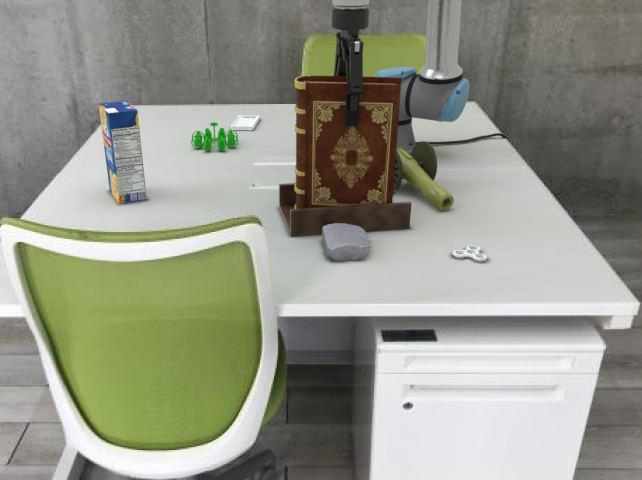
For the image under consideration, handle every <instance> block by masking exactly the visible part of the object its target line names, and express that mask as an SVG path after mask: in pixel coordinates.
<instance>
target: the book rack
mask: <svg viewBox="0 0 642 480" xmlns="http://www.w3.org/2000/svg"><path fill="white" fill-rule="evenodd" d="M295 183H296V182H289V183H279V184H278V208H279V211H280V213H281V216H282V218H283V221H284V223H285V226H286V228H287V230H288V233H289V236H290V237H306V236H322V228H323V227H324V226H326V225H328V224H334V223H339V224H340V223H345V224H350V225H356V226H359V227H361V228H362V229H364V231H365V232H366V233H367V232H381V231H383V232H384V231H385V232H386V231H397V230H399V231H400V230H410V228H411V226H410V225H411V217H412V216H411V215H412V206H413V205H412V204H413V203H412V202H411V201H402V202H392V203H382V204H365V205H349V206H332V207H316V208H299V209H294V207H295V204H296V192H295V190H294V186H295Z"/></svg>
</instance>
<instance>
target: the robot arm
mask: <svg viewBox="0 0 642 480" xmlns="http://www.w3.org/2000/svg"><path fill="white" fill-rule="evenodd" d="M426 1H427V2H426V26H425V27H426V28H425V50H424V51H425V52H424V53H425V54H424V65H423V66H422V67H421V68H420V69H419V70H417V68H416V67H414V66H396V67H389V68H384V69H382V70H379V71H377V72H376V73H375V75H374V77H397V78H402V79H401V93H400V107H399V120H398V134H397V147H396V150H398V148H403V149H404V150H405V151H406V152H407V153H408V154H409V155H411V153H412V150H413V147H414V146H415V144H416V143H418V142H419V141H416V138H415V133H414V129H413V124H412V122H413V118H414V119H420V120H421V119H422V120H426V121H427V120H428V121H435V122H439V123H442V122H445V123H453V122H456V121H457V120H458V119H459V118H460V117H461V115H462V113H463V112H464V110H465V107H466V104H467V101H468V98H469V93H470V80H469V79H467V78H465V77H464V78H463V75H464V69H463V68H462V67H461V66H460V65H459V64H458V63H459V48H460V47H459V46H460V32H461V31H460V29H461V28H460V27H461V18H462V17H461V14H462V0H426ZM331 5H332V6H334V7H333V8H332V9H331V27H332V29H335V30H340V31H338V32H336V34H335V38H336V39H335V41H336V43H335V44H336V45H335V55H334V56H335V57H334V68H333V75H332V76H347V91H345V92H344V95H346V104H345V127H349V126H358V114H359V95H360V93H363V77H364V74H363V73H364V69H363V68H364V67H363V66H364V64H363V63H364V62H363V61H364V60H363V59H364V57H363V55H364V54H363V53H364V41H363V40H362V39H361V38H360V33H359V32H360V30H366V29H367V28H368V27H369V23H370V9H369V8H368V6H369V5H370V0H331ZM493 137H502V138H503V139H508V138H507V136H506V135H505V134H504V133H501V132H500V133H499V132H495V133H492V134H485V135H480V136H476V137H473V138H467V139H460V140H447V141H445V140H444V141H427V142H428V143H430V144H431V145H454V144H465V143H471V142H474V141H478V140H482V139H483V140H484V139H488V138H493Z"/></svg>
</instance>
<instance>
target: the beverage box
mask: <svg viewBox="0 0 642 480" xmlns="http://www.w3.org/2000/svg"><path fill="white" fill-rule="evenodd" d="M98 110H99V118H100V126H101V134H102V140H103V148H104V155H105V164H106V173H107V179H108V188H109V192H110V193H111V195H112V196H113V197H114V199H115V200H116V202H117V203H118V204H119V205H124V204H131V203H136V202H137V203H138V202H144V201H145V202H146V201H147V200H148V197H147V188H146V181H145V180H146V179H145V169H144V160H143V158H144V157H143V149H142V139H141V130H140V120H139V111H138V109H137V108H136V107H134V106H133V105H132V104H131V103H130V102H128V101H127V100H120V101H111V102H101V103H98Z"/></svg>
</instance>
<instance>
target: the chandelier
mask: <svg viewBox="0 0 642 480" xmlns="http://www.w3.org/2000/svg"><path fill="white" fill-rule="evenodd" d="M209 125H210V126H211V127H213V133H212V131H211V129H210V128H209V127H206V128H205V130H204V132H203V131H200V130H196V131H194V132H193V133H192V134H191V141H190V144H191V147H193V148H194V149H195V150H200V149H202V148H204V151H205V152H207V153H208V152H210V151H211V150H212V146H213V145H212V143H213V142H215V143H216V142H217V149H218V150H220V152H225V150H226V147H227V148H229V149H235V148H236V147H237V146H238V144H239V139H238V138H239V137H238V132H236V130H231V129H229V130H227V131H225V128H224V127H220V128H219V129H218V131H217V132H218V133H217V137H216V127H217V126H219V124H218V122H210V123H209Z"/></svg>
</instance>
